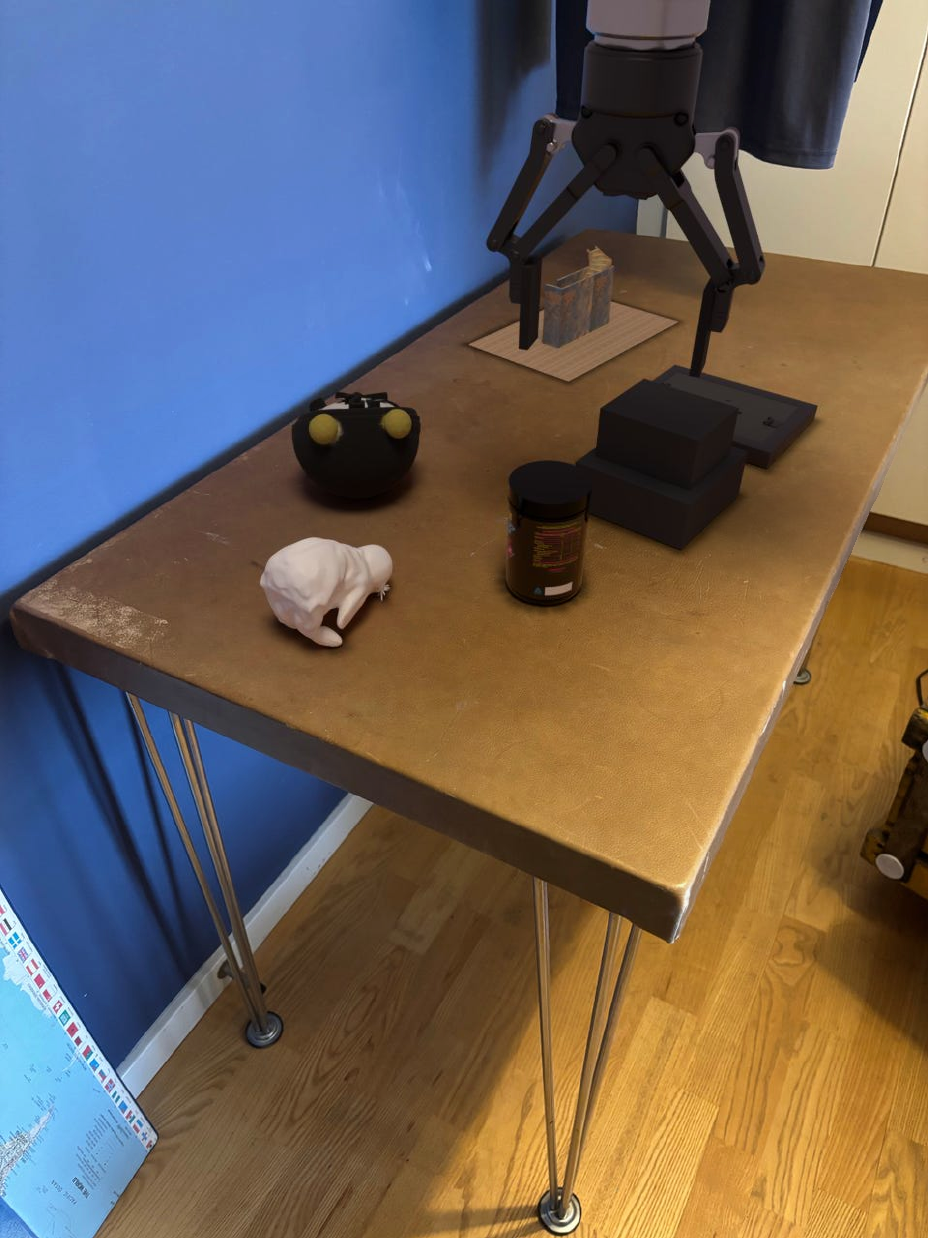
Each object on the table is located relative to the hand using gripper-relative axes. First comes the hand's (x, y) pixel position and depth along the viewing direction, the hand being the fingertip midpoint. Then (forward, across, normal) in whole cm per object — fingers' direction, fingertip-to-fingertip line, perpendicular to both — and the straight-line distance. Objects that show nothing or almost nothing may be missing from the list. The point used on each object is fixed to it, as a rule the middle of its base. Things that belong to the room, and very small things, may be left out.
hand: (610, 356), depth 72 cm
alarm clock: (+19, +25, -2) cm, 31 cm away
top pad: (+14, -4, -10) cm, 18 cm away
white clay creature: (+19, +17, +17) cm, 30 cm away
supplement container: (+19, +2, +6) cm, 20 cm away
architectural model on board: (+19, +15, -48) cm, 53 cm away
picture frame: (+19, -6, -30) cm, 36 cm away
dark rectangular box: (+19, -4, -10) cm, 22 cm away
